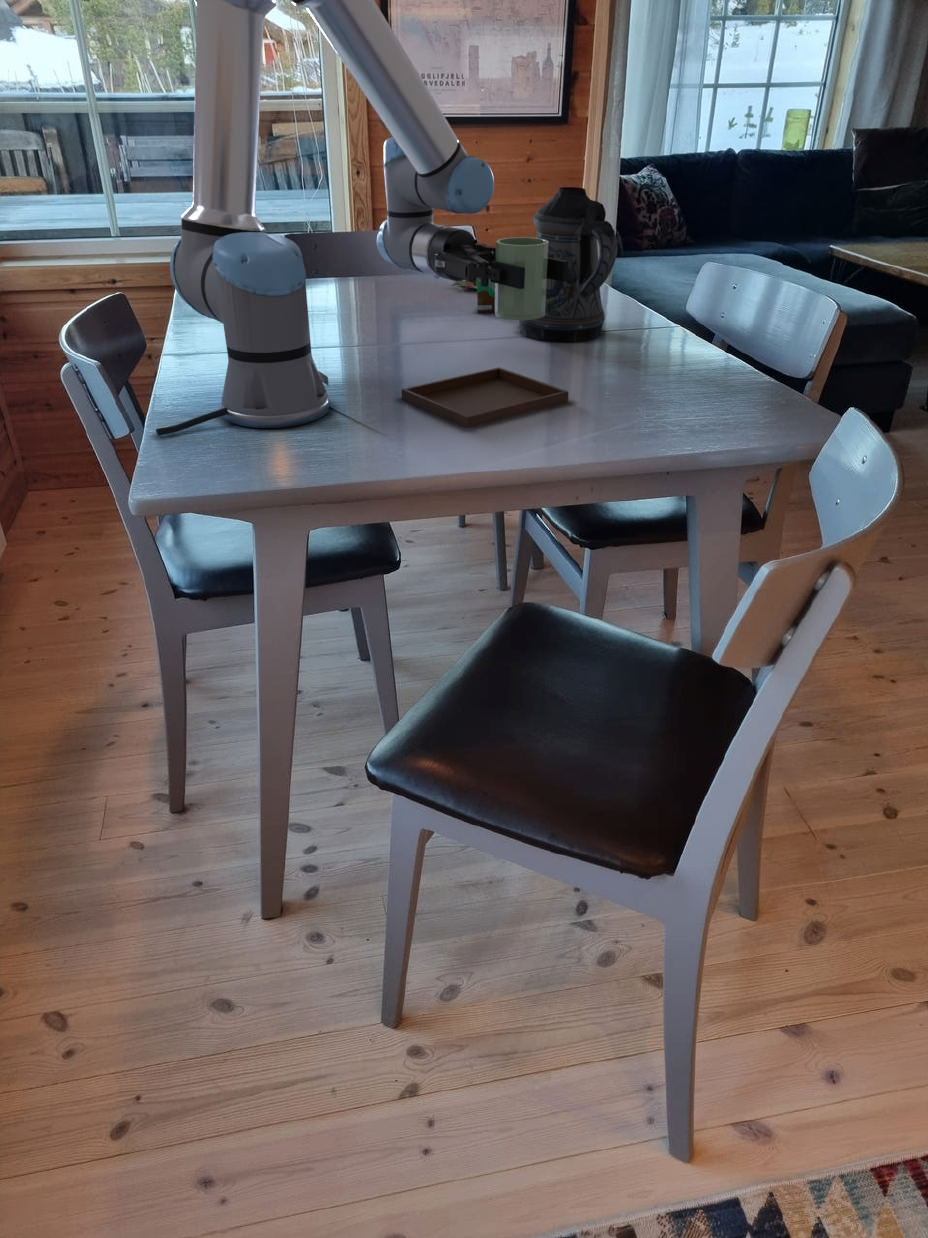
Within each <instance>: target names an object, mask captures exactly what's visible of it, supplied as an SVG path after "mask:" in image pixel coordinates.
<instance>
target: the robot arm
mask: <svg viewBox="0 0 928 1238" xmlns="http://www.w3.org/2000/svg"><path fill="white" fill-rule="evenodd" d="M194 2H195V14H196V15H195V53H194V54H195V55H194V56H195V58H194V59H195V60H194V61H195V63H194V64H195V65H194V113H193V114H194V118H193V119H194V120H193V121H194V122H193V123H194V124H193V176H192V177H193V178H192V179H193V180H192V187H193V188H192V205H191V207H189V208H187V210H186V211H185V212H184V213H182V214H181V219H180V220H181V223H180V225H181V227H180V236H181V237H180V238H179V240H178V241H177V242H176V244H175V245H174V247H173V249H172V251H171V254H170V260H169V272H170V278H171V282H172V284H173V286H174V289H175V290H176V292H177V294H178V295H179V297H180V298H181V299H182V300H183V301H184V303H186V304H187V305H188V306H189V307H191V309H192V310H193V311H195V312H197V313H198V314H200V315H201V316H204V317H206V318H208V319H212V320H214V321H217V322H219V323H221V324H223V331H224V338H225V339H224V340H225V346H226V352H227V361H228V362H227V368H226V373H225V379H224V384H223V385H224V386H223V390H222V394H221V395H222V396H221V401H220V403H221V408H220V409H217V410H214V411H211V412H208V413H204V414H202V415H199V416H196V417H194V418H190V419H188V420H186V421H183V422H180V423H176V424H173V425H170V426H163V427H159V428H155V433H156V435H157V436H158V437H159V436H164V435H170V434H174V433H178V432H181V431H184V430H187V429H190V428H193V427H194V426H198V425H200V424H202V423H206V422H209V421H211V420H215V419H218V418H220V417H223V418H224V419H225V420H226V421H228V422H230V423H232V424H234V425H237V426H242V427H245V428H246V427H248V428H254V429H255V428H256V429H279V428H288V427H293V426H295V427H296V426H301V425H304V424H309V423H311V422H314V421H316V420H319V419H321V418H322V417H324V416H325V415H326V414H327V413H329V410H330V403H329V395H328V392H327V390H326V387H325V385H326V386H328V387H329V386H330V385H329V377H328V376H327V375H325V373H323V372H321V371H320V370H318V368H317V365H316V364H315V360H314V358H313V353H312V343H311V330H310V317H309V307H308V295H307V294H308V293H307V284H306V283H307V282H306V280H307V272H306V267H305V263H304V259H303V254H302V250H301V248H300V247H299V246H298V244H296V243H295V241H293V240H291V239H290V238H287V237H286V236H282V235H278V234H268V233H267V232H266V227H265V226H264V225H263V224H262V222H261V220H260V219H259V218H258V217H257V214H256V201H257V200H256V197H257V179H258V178H257V177H258V175H257V174H258V157H259V156H258V153H259V135H260V134H259V133H260V131H259V130H260V111H261V109H260V108H261V91H262V90H261V89H262V67H263V47H264V46H263V42H264V23H265V18H266V16H267V15H268V14H269V13H270V12H271V11H272V10H273V9H274V8H276V6H277V0H194ZM290 2H291V3H292V4H293V5H294V6H296V7H301V8H304V9H306V10H307V11H308V13H309V14H310V16H311V17H312V19H313V20H314V22H315V23H316V26H318V28H319V29H320V31H321V32H322V34H323V35H324V37H325V38H326V40H327V41H328V42H329V44H330V45H331V47H332V49H333V51H334V52H335V53H336V54H337V56H338V58H339V60H340V61H341V62H342V63H343V65H344V66H345V68H346V69H347V72H348V73H349V74H350V75H351V77H352V78H353V80H354V81H355V83H356V84H357V86H358V88H359V89H360V90H361V92H362V93H363V95H364V96H365V98H366V99H367V100H368V102H369V104H370V105H371V106H372V108H373V109H374V111H375V112H376V114H377V115H378V117H379V119H380V120H381V121H382V123H383V124H384V126H385V127H386V129H387V130H388V132H389V133H390V135H391V137H388V138H386V140H385V141H384V143H383V164H382V168H383V173H384V174H383V175H384V176H383V177H384V186H385V197H386V219H385V220H384V221H383V222H382V224H380V227H379V230H378V232H377V236H376V246H377V250H378V252H379V254H380V256H381V257H382V258H383V260H385V261H386V262H387V263H389V264H392V265H394V266H396V267H398V268H400V269H403V270H410V271H414V272H419V273H423V274H427V275H430V276H431V275H432V276H433V279H434V280H439V279H440V278H441V279H445V280H449V281H455V282H456V281H465V280H466V281H469V282H475V281H476V278H477V279H479V280H480V286H482V287H487V286H489V279H490V282H494V283H498V284H502V285H506V286H510V287H514V288H518V289H524V280H525V268H524V267H519V266H515V265H510V264H506V263H501V262H497V261H496V246H495V245H494V246H492V245H487V244H486V243H480V242H478V241H477V238H476V237H475V236H474V235H473V234H472V233H471V232H470V231H469V230H466V229H463V228H458V227H453V226H448V225H444V224H437V223H434V209H436V210H439V211H440V210H441V211H445V212H448V213H454V214H457V215H463V214H465V215H474V214H478V213H480V212H482V211H483V210H484V209H485V208H486V207H487V206H488V204H489V203H490V202H491V199H492V198H493V195H494V189H495V178H494V174H493V171H492V168H491V167H490V165H489V164H488V163H487V162H486V161H485V160H483V159H481V158H478V157H476V156H475V155H469V154H468V153H467V151H466V150H465V147H463V144H462V143H461V141H460V140H459V138H458V137H457V135H456V133H455V132H454V130H453V128H452V126H451V125H450V123H449V121H448V119H446V117H445V115H444V114H443V112H442V110H441V109H440V106H439V105H438V103H437V102H436V100H435V99H434V97H433V95H432V94H431V92H430V90H429V88H428V87H427V86H426V83H425V82H424V80H423V78H422V77H421V75H420V74H419V72H418V70H417V69H416V67H415V65H414V64H413V62H412V60H411V59H410V57H409V55H408V54H407V52H406V50H405V49H404V47H403V46H402V44H401V42H400V40H399V39H398V37H397V35H396V34H395V33H394V30H393V28H392V27H391V26H390V24H389V22H388V21H387V19H386V17H385V16H384V14H383V12H382V10H381V9H380V7H379V6H378V4H377V2H376V1H375V0H290ZM567 272H568V261H565V260H560V259H555V258H550V257H548V268H547V278H549V279H553V280H557V281H562V282H565V281H567ZM324 384H325V385H324Z"/></svg>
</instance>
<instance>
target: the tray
mask: <svg viewBox="0 0 928 1238" xmlns="http://www.w3.org/2000/svg"><path fill="white" fill-rule="evenodd" d="M400 390H401V392H400V393H401V400H402V401H405V402H407V403H409V404H412V405H414V406H416V407H419V408H421V409H423V410H425V411H427V412H430V413H431V414H434V415H437V416H438V417H441V418H442V419H445V420H447V421H450V422H452V423H454V424H457V425H459V426H462V427H464V428H466V429H469V428H474V427H477V426H481V425H485V424H488V423H492V422H497V421H500V420H503V419H507V418H511V417H516V416H520V415H523V414H528V413H530V412H535V411H539V410H541V409H545V408H549V407H550V408H551V407H553V406H557V405H560V404H565V403H568V402H569V390H565V389H562V388H559V387H557V386H554V385H551V384H548V383H545V382H543V381H539V380H536V379H534V378H531V377H529V376H525V375H523V374H519V373H517V372H514V371H511V370H508V369H506V368H503V367H494V368H490V369H485V370H481V371H477V372H472V373H468V374H463V375H459V376H455V377H449V378H445V379H441V380H436V381H431V382H427V383H423V384H418V385H414V386H409V387H405V388H400Z"/></svg>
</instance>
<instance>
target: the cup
mask: <svg viewBox="0 0 928 1238" xmlns="http://www.w3.org/2000/svg"><path fill="white" fill-rule="evenodd" d="M495 247H496V261H497V262H501V263H506V264H510V265H515V266H519V267H524V268H525V280H524V289H518V288H514V287H510V286H506V285H502V284H498V283H495V313H494V315H495V316H496V317H497V318H500V319H505V320H511V321H519V320H533V319H538V318H542V317H544V316H545V310H546V290H547V268H548V247H549V241H547V240H545V239H540V238H536V237H528V236H526V237H525V236H520V237H519V236H516V237H503V238H499V239H497V240H496V241H495Z"/></svg>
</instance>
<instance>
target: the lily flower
mask: <svg viewBox="0 0 928 1238" xmlns="http://www.w3.org/2000/svg"><path fill="white" fill-rule="evenodd" d="M451 281H452V280H451ZM452 283H453V284H451V285H450V287H453V286H458V290H463V289H476V290H477V278H476V281H475V282H469V281H466V280H463V281H452Z"/></svg>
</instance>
